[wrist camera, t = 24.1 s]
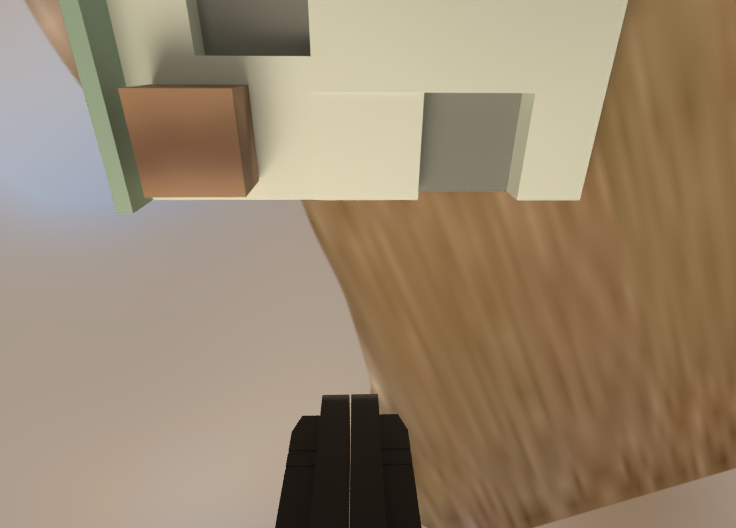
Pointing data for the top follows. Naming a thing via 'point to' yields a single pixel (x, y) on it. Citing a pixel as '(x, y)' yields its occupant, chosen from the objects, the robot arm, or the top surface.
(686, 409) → the top surface
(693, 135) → the top surface
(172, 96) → the walnut block
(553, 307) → the top surface
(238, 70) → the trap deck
